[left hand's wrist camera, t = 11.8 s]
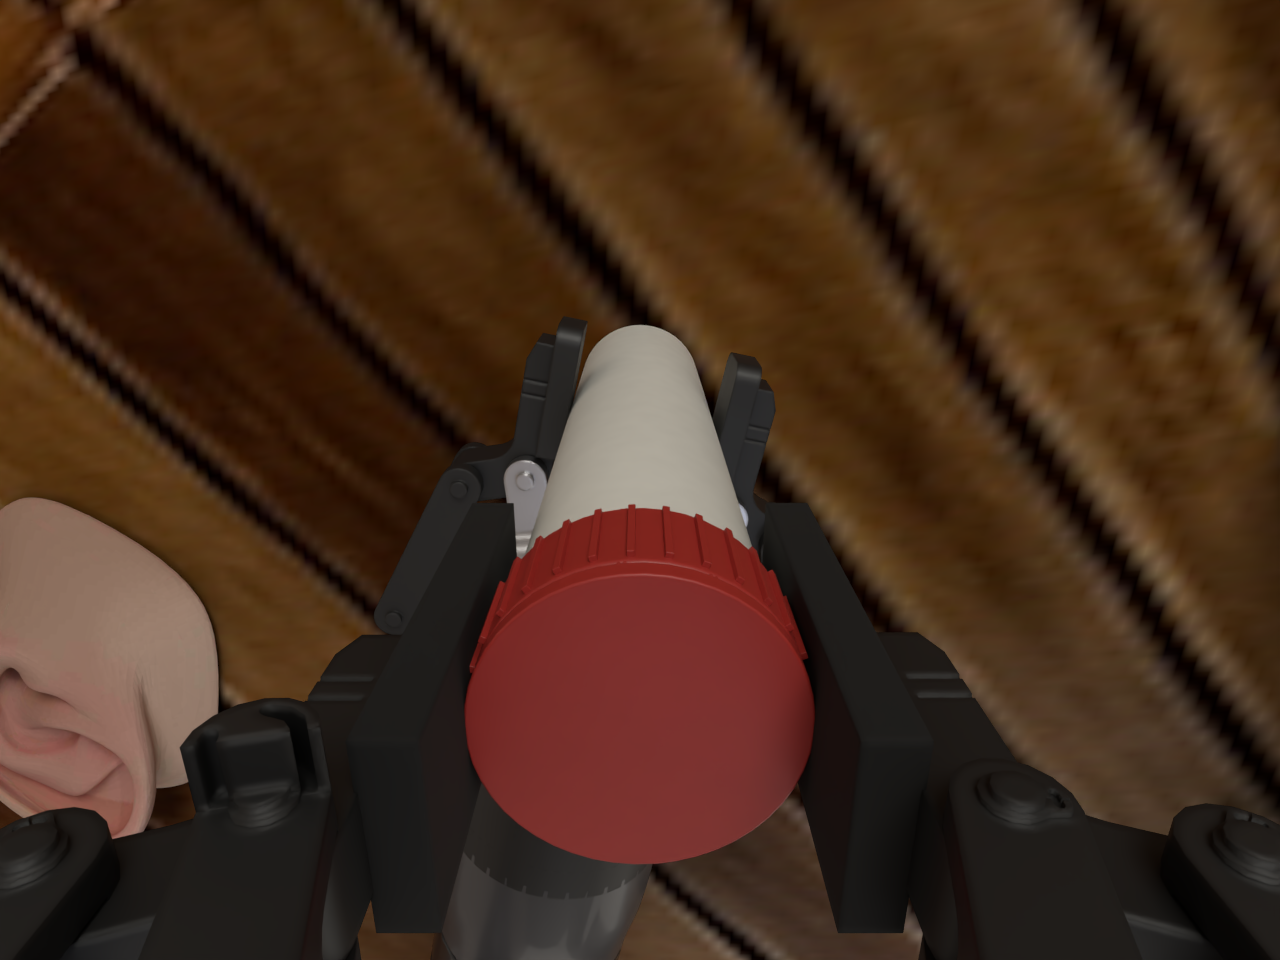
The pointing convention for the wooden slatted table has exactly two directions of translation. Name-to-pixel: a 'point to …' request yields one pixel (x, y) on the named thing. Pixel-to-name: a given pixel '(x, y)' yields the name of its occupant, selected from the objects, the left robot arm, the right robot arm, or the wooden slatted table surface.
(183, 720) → the anatomical model
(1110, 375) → the wooden slatted table surface
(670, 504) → the white tube
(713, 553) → the lid
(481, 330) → the wooden slatted table surface
